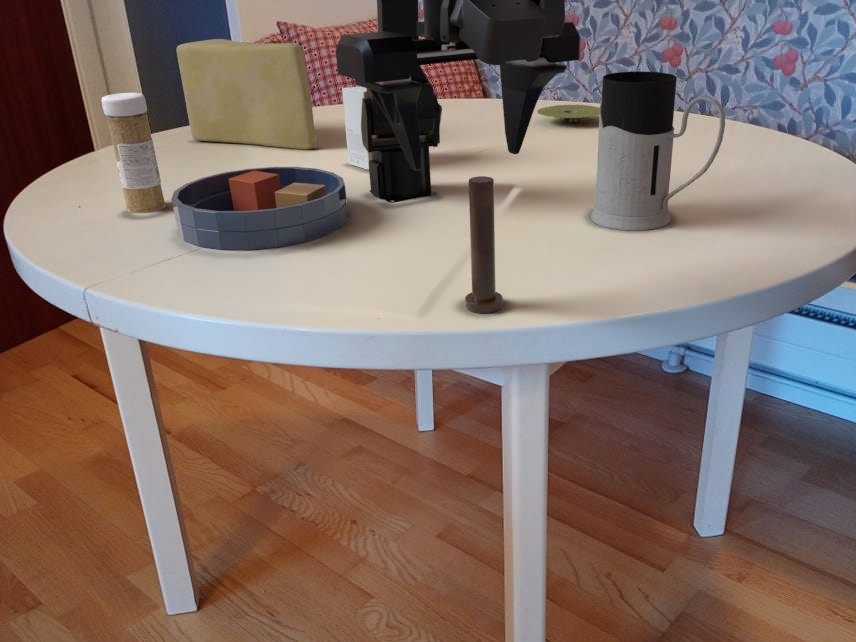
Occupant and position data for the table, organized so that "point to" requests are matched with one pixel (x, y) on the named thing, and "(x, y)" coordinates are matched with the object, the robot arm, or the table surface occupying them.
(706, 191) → the table surface
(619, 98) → the glass holder
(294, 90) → the cheese
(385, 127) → the robot arm
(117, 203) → the table surface
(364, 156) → the small box
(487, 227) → the stirring stick
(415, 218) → the table surface
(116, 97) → the sprinkles bottle
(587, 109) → the olive green disc
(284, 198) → the wood block
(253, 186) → the terracotta block
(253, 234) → the bowl
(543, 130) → the table surface
